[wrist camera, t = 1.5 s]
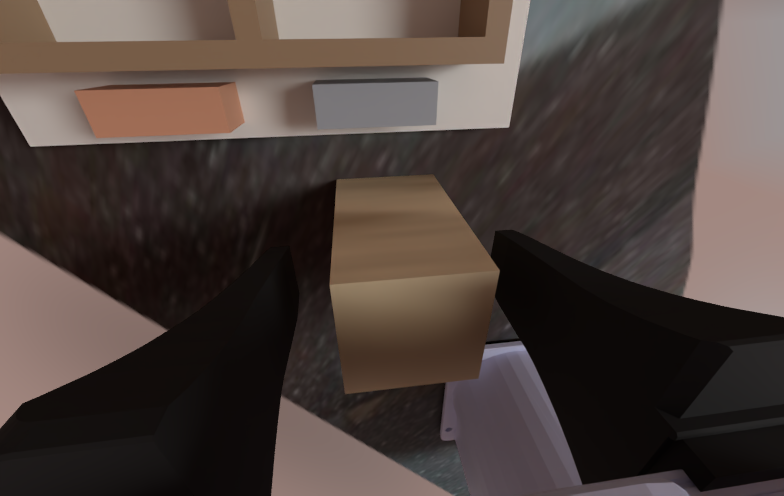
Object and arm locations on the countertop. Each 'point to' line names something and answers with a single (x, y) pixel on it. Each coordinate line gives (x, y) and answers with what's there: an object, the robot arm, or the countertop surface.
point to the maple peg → (407, 285)
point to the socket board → (256, 67)
